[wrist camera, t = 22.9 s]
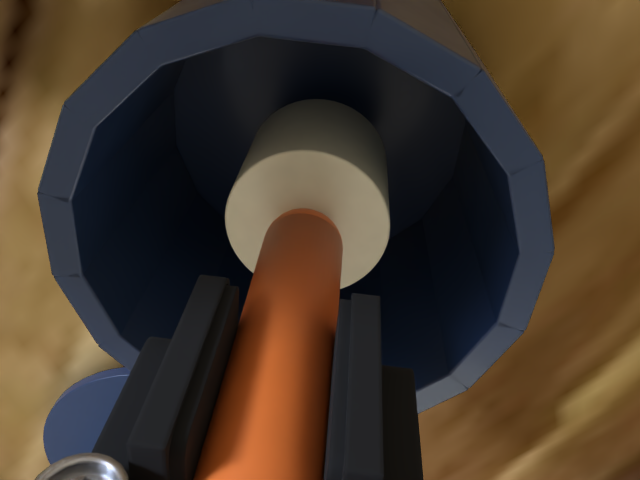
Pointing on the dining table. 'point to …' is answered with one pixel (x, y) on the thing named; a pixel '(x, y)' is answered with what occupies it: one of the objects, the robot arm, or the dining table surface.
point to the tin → (232, 148)
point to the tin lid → (82, 414)
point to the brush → (294, 285)
